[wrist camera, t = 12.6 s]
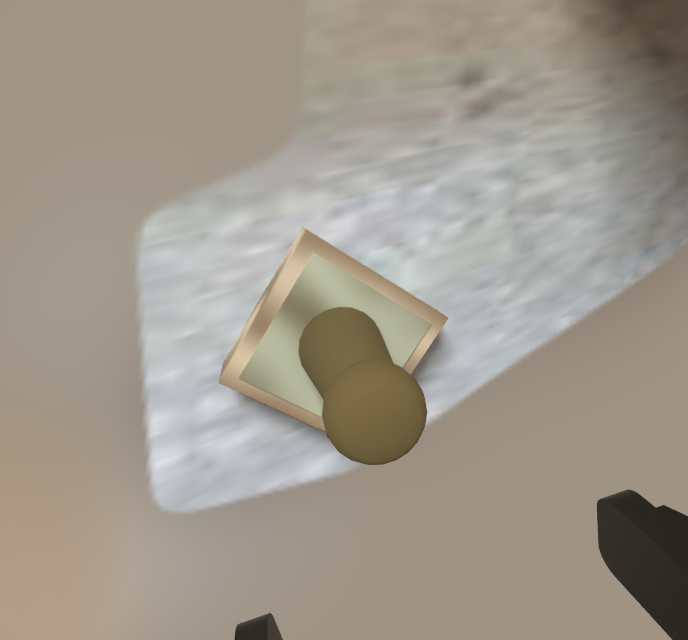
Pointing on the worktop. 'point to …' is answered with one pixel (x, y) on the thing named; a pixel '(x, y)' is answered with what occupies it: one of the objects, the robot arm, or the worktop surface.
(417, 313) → the tray
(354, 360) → the olive brown ball-ended cylinder
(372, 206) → the worktop surface
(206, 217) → the worktop surface
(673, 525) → the robot arm
